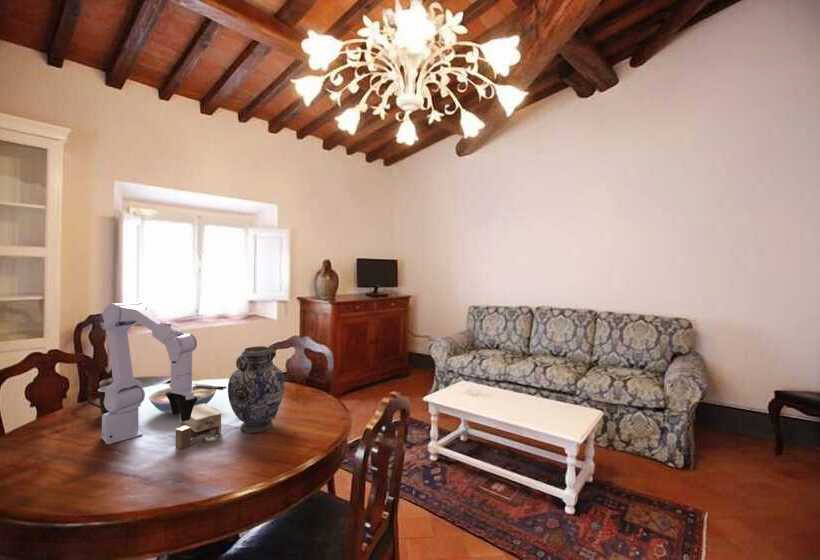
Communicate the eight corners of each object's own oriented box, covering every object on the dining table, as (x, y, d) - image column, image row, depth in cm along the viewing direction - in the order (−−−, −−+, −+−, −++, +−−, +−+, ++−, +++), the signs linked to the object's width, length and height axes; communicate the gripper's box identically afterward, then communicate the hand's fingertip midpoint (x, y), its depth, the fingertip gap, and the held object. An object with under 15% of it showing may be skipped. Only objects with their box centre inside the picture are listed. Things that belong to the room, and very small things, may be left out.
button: (208, 443, 122) (208, 439, 122) (202, 440, 124) (202, 436, 124) (220, 439, 125) (220, 435, 125) (214, 436, 127) (215, 432, 127)
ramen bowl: (130, 419, 139) (130, 397, 139) (178, 399, 161) (178, 380, 161) (190, 425, 134) (190, 403, 134) (231, 403, 157) (231, 384, 157)
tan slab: (196, 442, 122) (196, 420, 122) (179, 429, 132) (179, 409, 131) (222, 434, 128) (222, 413, 128) (204, 422, 138) (204, 403, 137)
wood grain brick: (181, 450, 116) (181, 430, 116) (175, 448, 118) (175, 429, 118) (217, 434, 128) (217, 417, 128) (212, 433, 129) (212, 415, 129)
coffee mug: (132, 410, 148) (132, 385, 147) (113, 419, 139) (113, 392, 139) (105, 409, 149) (105, 383, 149) (84, 417, 140) (84, 390, 140)
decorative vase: (263, 442, 122) (263, 355, 122) (212, 437, 126) (212, 353, 126) (296, 418, 143) (296, 343, 143) (251, 414, 147) (251, 341, 147)
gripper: (204, 375, 116) (204, 419, 117) (187, 367, 126) (186, 407, 126) (178, 380, 111) (178, 426, 111) (162, 371, 121) (162, 413, 121)
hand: (181, 417), depth 118 cm, fingers open, 7 cm apart
